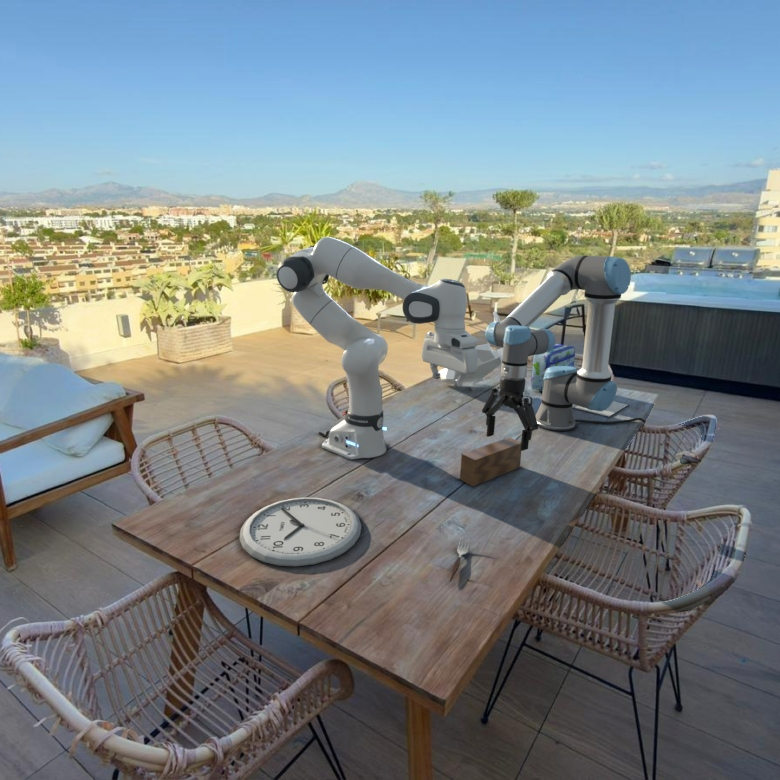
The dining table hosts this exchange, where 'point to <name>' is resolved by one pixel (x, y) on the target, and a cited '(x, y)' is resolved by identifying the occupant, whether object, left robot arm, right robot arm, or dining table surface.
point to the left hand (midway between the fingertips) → (446, 382)
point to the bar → (490, 461)
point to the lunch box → (550, 363)
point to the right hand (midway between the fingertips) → (506, 442)
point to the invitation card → (609, 411)
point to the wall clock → (300, 532)
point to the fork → (461, 551)
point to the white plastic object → (479, 364)
